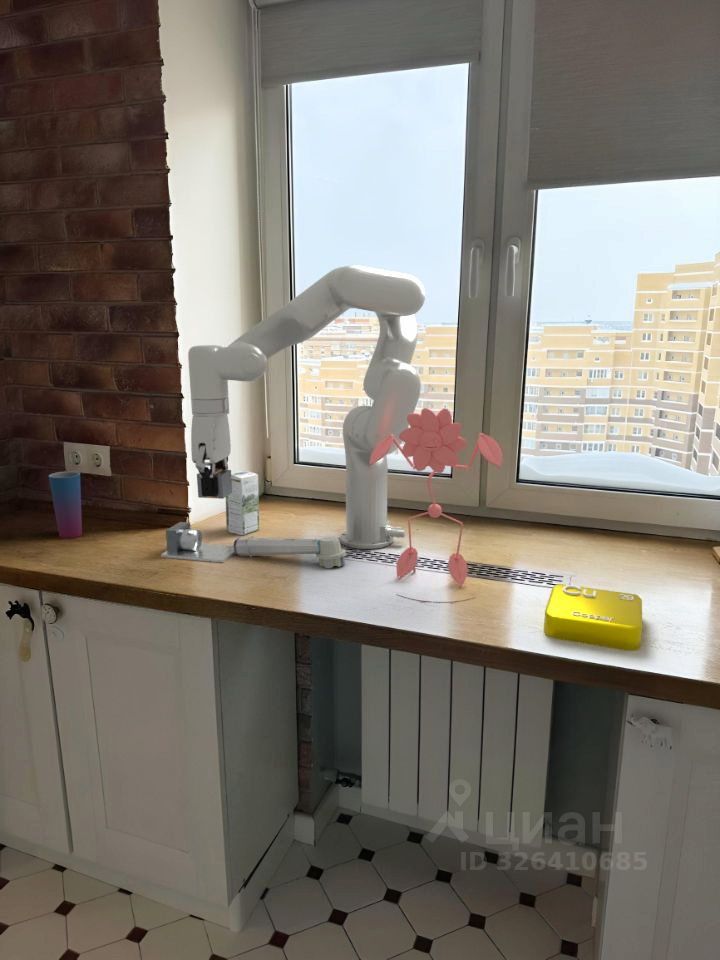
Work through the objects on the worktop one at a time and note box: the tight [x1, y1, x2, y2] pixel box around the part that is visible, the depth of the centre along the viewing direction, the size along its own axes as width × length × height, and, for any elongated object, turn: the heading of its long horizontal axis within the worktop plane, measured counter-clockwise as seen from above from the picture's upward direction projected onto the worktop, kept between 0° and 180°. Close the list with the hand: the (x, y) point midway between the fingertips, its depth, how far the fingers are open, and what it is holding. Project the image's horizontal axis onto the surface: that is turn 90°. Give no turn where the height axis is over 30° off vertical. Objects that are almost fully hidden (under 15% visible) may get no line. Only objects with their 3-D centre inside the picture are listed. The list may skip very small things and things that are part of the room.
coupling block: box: [196, 468, 232, 500], centre depth 142 cm, size 6×5×5 cm
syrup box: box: [225, 470, 260, 536], centre depth 164 cm, size 6×6×14 cm
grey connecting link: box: [232, 535, 347, 569], centre depth 146 cm, size 5×7×25 cm
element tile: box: [543, 583, 643, 652], centre depth 115 cm, size 15×15×5 cm
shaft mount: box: [160, 521, 236, 564], centre depth 150 cm, size 15×9×6 cm, turn 76°
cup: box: [48, 470, 83, 539], centre depth 161 cm, size 7×7×15 cm
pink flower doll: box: [370, 407, 503, 605], centre depth 127 cm, size 15×26×35 cm, turn 70°
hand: (215, 491), depth 143 cm, fingers closed on coupling block, 5 cm apart
